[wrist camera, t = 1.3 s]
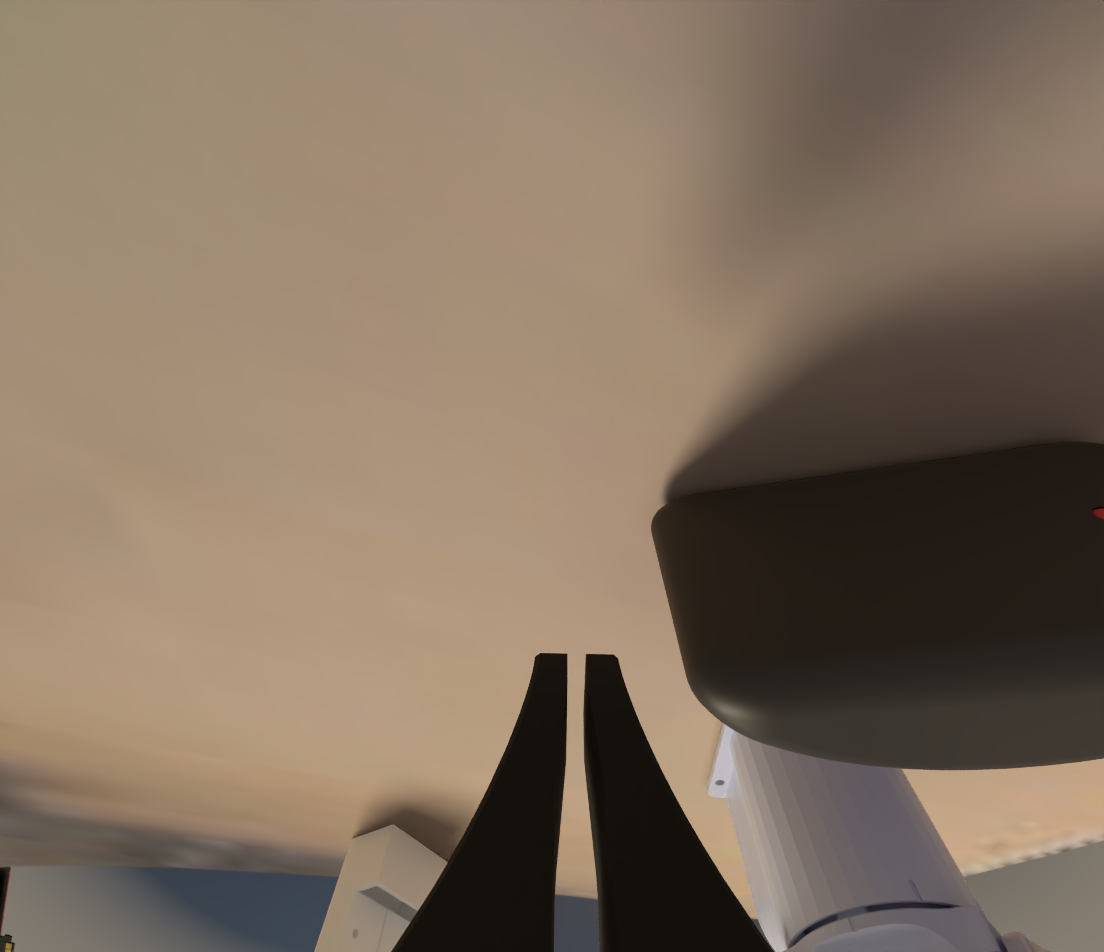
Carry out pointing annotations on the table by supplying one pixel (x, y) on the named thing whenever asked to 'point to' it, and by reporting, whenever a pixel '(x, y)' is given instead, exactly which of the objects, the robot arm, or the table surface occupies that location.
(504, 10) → the table surface
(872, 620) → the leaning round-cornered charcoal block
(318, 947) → the white wedge bracket
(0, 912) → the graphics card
